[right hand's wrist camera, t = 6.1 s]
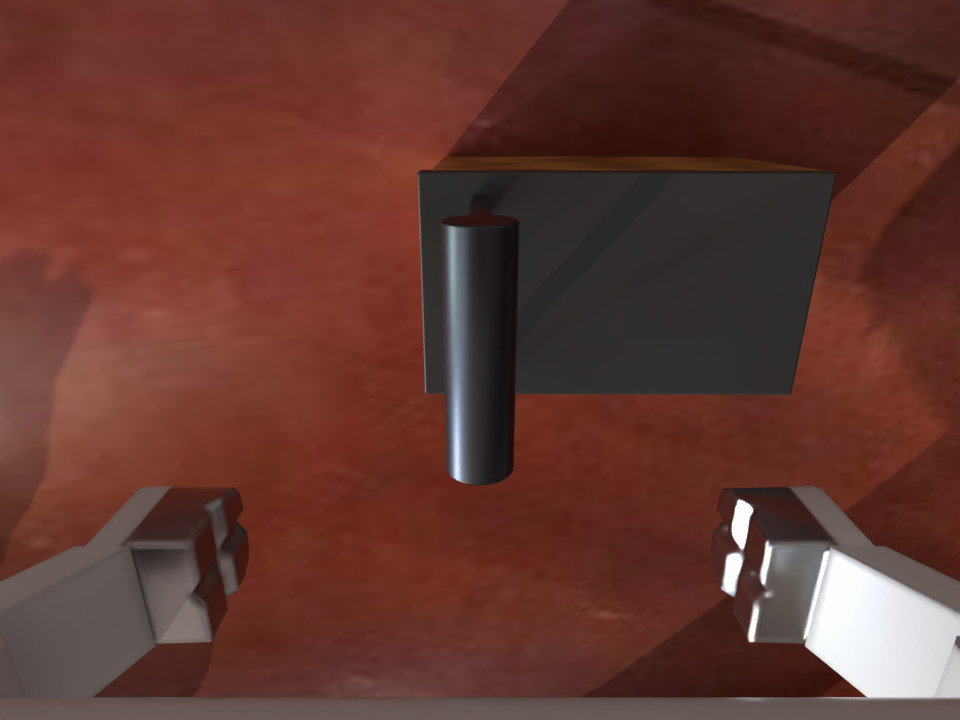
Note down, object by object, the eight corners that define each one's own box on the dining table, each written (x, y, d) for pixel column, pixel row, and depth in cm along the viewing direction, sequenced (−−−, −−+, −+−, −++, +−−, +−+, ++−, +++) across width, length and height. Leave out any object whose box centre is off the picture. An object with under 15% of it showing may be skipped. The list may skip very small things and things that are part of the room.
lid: (426, 386, 26) (401, 505, 18) (419, 169, 23) (385, 196, 15) (782, 387, 26) (917, 507, 18) (826, 170, 23) (1015, 198, 15)
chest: (447, 320, 35) (436, 386, 27) (444, 156, 32) (430, 169, 23) (707, 321, 35) (781, 386, 26) (731, 157, 32) (825, 170, 23)
